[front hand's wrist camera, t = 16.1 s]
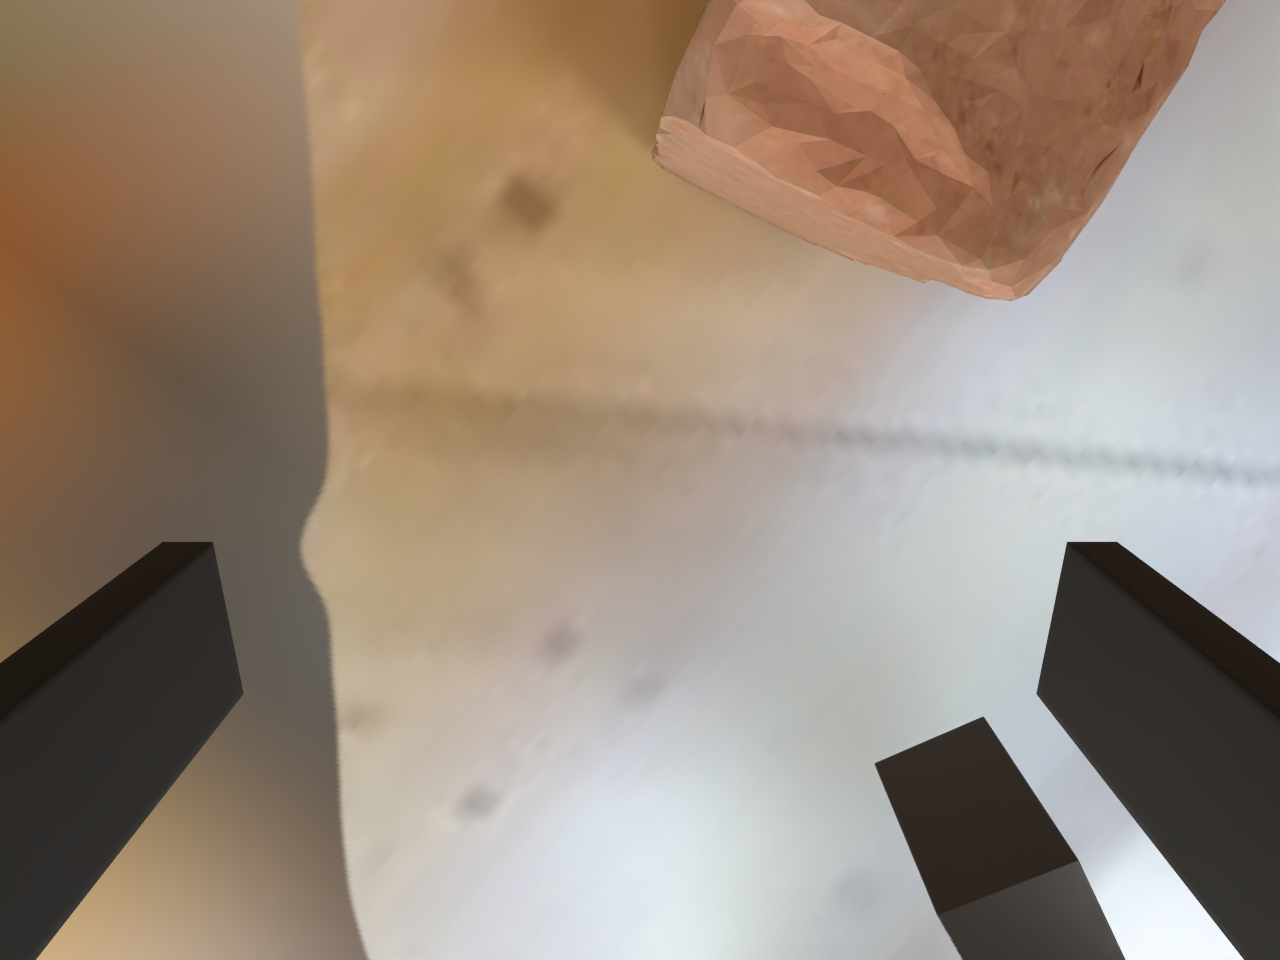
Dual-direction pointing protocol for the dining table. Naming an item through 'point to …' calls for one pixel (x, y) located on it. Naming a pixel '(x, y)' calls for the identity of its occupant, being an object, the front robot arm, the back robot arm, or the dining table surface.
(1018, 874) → the bar
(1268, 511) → the dining table surface
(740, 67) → the stone
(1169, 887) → the dining table surface
